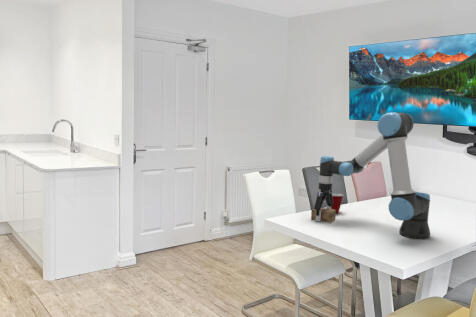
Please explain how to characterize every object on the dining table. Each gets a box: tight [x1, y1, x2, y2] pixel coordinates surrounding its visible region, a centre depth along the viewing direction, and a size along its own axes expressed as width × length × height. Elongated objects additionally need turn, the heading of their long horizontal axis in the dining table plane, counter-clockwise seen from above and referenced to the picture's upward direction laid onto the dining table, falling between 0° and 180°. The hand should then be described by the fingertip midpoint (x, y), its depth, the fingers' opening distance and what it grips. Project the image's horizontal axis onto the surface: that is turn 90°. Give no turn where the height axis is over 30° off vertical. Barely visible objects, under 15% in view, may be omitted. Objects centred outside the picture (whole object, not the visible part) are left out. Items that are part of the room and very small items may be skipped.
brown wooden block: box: [310, 207, 337, 224], centre depth 259 cm, size 12×9×6 cm
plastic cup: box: [331, 192, 344, 215], centre depth 276 cm, size 11×11×12 cm
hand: (323, 219), depth 260 cm, fingers open, 12 cm apart
